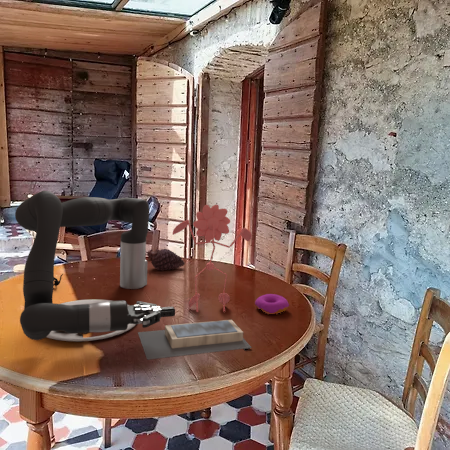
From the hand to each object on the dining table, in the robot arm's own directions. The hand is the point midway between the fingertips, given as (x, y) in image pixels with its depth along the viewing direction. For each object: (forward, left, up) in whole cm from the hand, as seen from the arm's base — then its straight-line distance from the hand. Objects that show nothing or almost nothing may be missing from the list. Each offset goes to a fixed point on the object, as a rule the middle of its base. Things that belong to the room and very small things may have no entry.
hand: (174, 311), depth 113 cm
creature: (+2, -63, -9) cm, 64 cm away
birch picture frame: (+1, -1, -7) cm, 7 cm away
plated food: (+9, -27, -10) cm, 30 cm away
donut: (-41, +5, -9) cm, 42 cm away
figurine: (-27, -13, -9) cm, 31 cm away
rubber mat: (-4, +3, -9) cm, 11 cm away
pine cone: (-46, -54, -9) cm, 71 cm away
